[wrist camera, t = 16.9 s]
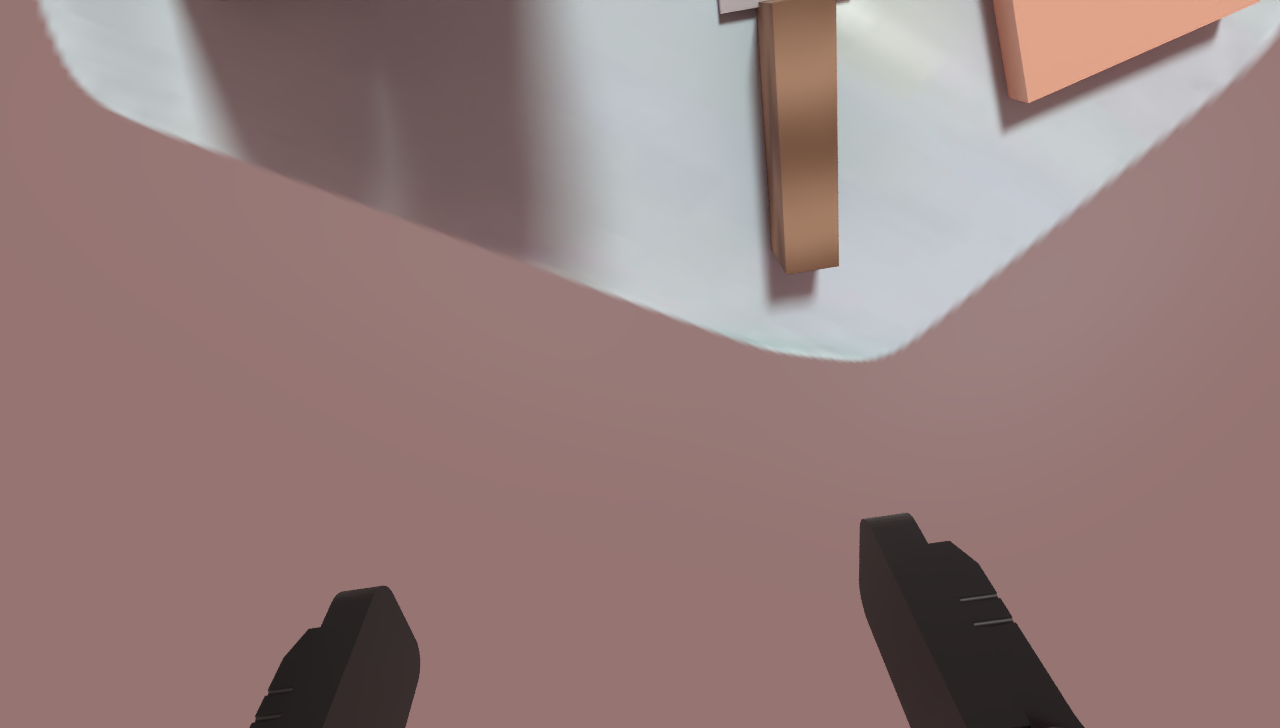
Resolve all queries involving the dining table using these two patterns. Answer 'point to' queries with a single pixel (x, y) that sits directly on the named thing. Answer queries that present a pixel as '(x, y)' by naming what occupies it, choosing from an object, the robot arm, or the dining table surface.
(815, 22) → the wooden bar with blade
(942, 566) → the robot arm
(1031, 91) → the tile
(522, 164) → the dining table surface
